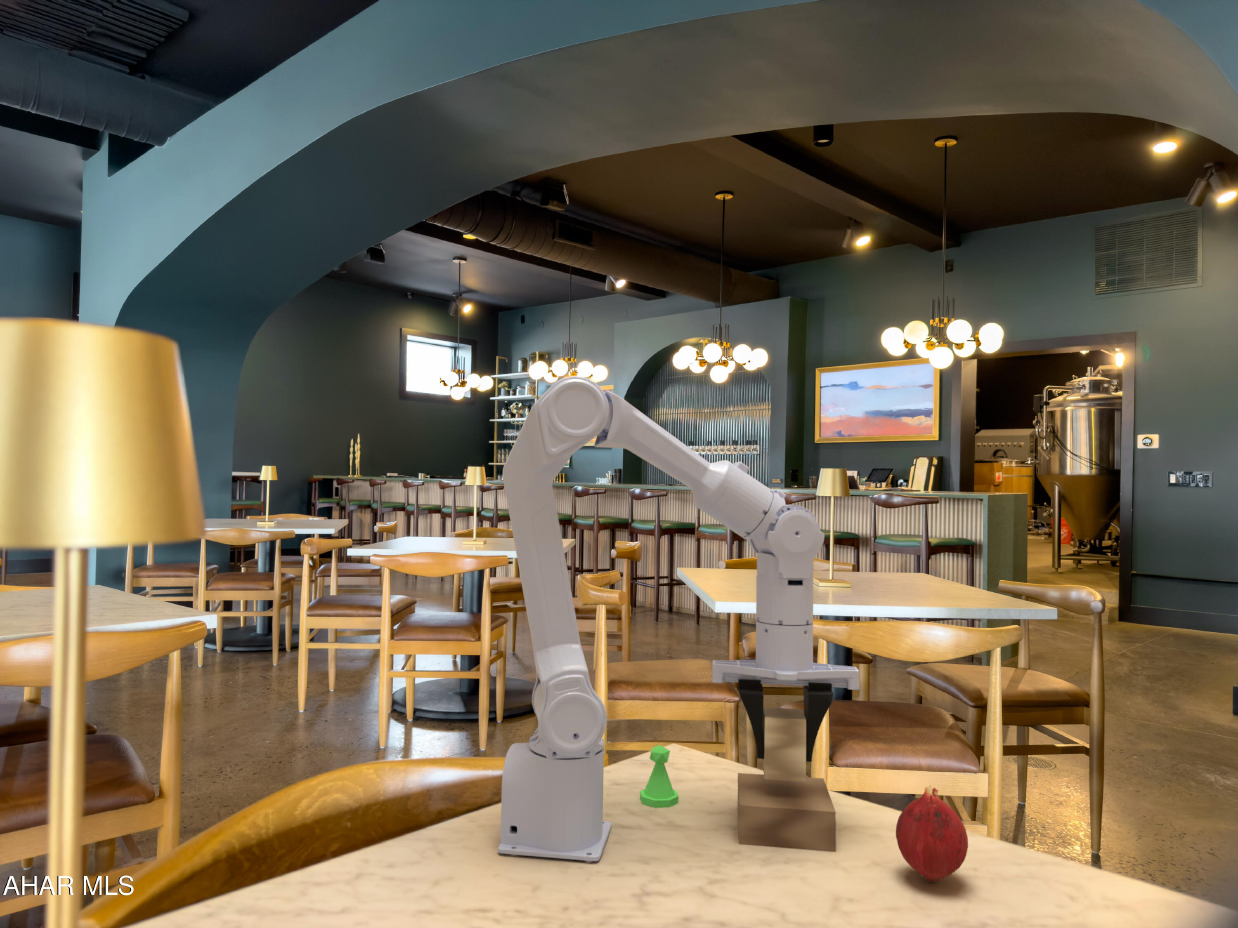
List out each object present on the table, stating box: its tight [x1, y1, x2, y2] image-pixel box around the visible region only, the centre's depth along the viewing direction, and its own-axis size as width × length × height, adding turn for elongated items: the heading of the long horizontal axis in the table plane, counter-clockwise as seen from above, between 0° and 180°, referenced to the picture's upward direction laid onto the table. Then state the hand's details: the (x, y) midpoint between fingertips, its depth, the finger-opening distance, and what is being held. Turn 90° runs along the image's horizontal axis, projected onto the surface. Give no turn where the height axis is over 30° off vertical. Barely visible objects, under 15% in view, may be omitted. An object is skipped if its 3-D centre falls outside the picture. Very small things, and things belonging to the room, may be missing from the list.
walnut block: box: [737, 772, 837, 853], centre depth 77 cm, size 9×9×4 cm
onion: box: [895, 785, 969, 883], centre depth 66 cm, size 6×6×8 cm
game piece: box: [639, 744, 679, 809], centre depth 83 cm, size 4×4×6 cm
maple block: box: [762, 706, 807, 782], centre depth 77 cm, size 4×4×6 cm
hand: (783, 757), depth 77 cm, fingers closed on maple block, 4 cm apart
